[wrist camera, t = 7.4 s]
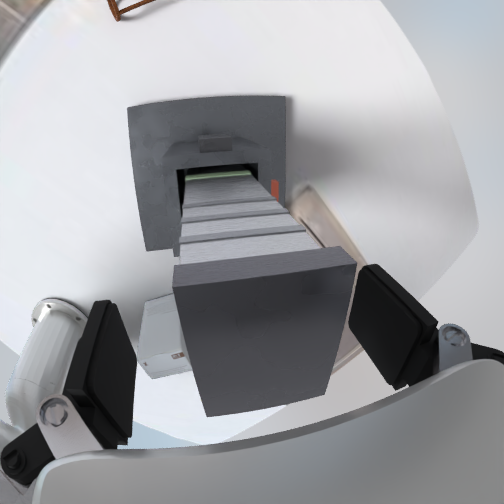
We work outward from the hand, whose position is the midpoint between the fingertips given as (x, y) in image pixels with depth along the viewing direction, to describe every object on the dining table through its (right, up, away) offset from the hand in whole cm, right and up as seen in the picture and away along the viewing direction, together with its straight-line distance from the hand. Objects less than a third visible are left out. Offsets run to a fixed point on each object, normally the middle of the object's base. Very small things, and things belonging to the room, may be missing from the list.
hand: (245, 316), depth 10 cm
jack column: (-3, +9, +16) cm, 19 cm away
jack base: (-5, +12, +23) cm, 26 cm away
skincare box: (-12, -6, +30) cm, 33 cm away
